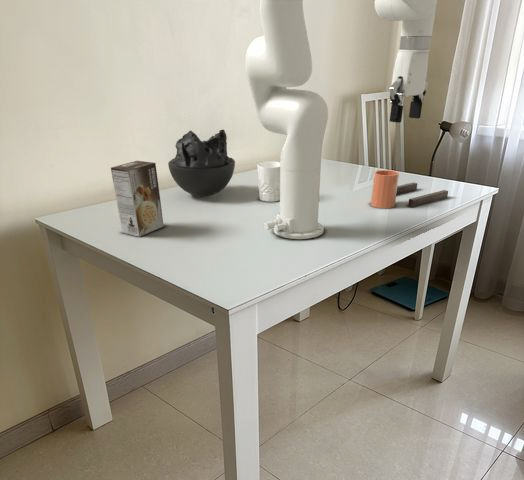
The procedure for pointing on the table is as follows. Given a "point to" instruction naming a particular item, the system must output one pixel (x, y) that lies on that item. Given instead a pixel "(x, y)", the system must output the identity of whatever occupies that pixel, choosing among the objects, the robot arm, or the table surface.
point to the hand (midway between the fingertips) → (405, 119)
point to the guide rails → (420, 199)
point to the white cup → (269, 181)
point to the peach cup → (384, 188)
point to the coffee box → (137, 197)
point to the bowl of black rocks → (202, 164)
